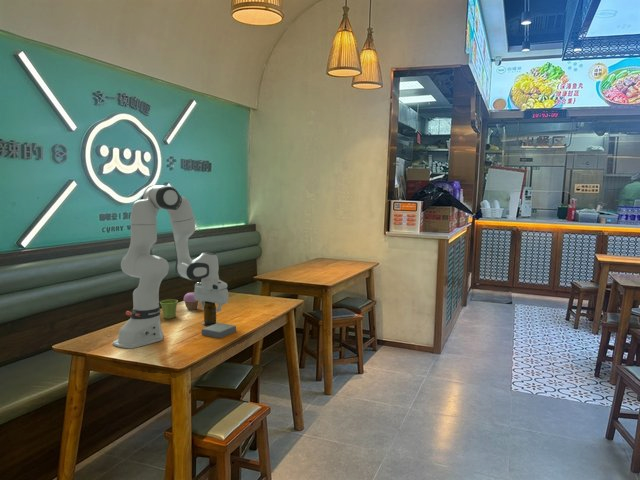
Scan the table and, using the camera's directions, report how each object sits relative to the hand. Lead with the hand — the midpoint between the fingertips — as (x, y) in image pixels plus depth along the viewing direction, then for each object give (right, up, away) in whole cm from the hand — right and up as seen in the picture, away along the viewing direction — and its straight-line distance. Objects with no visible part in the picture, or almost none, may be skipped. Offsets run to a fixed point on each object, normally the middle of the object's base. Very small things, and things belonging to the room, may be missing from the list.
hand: (211, 310), depth 238 cm
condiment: (0, -7, 0) cm, 7 cm away
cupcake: (-18, -4, +29) cm, 34 cm away
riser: (+7, -9, -15) cm, 19 cm away
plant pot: (-26, -6, +13) cm, 29 cm away
